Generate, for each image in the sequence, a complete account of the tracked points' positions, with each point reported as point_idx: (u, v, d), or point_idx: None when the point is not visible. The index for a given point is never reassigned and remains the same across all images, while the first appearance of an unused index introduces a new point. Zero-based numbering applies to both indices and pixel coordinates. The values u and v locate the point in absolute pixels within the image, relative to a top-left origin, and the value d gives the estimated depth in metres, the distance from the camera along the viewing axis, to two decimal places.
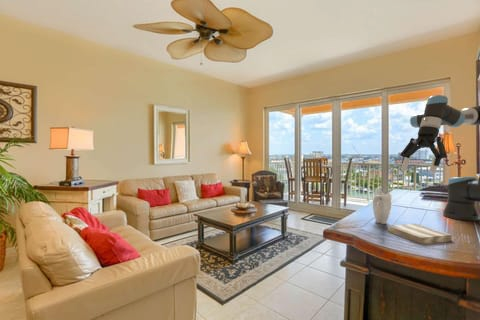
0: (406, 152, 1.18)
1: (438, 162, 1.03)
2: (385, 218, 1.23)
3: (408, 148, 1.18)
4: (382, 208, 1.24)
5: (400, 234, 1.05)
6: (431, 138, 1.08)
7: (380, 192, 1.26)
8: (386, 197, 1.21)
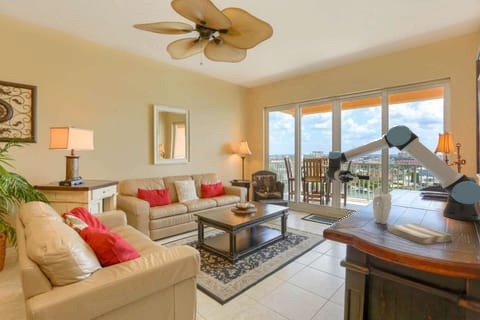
0: (366, 179, 1.44)
1: (349, 179, 1.37)
2: (385, 218, 1.23)
3: None
4: (382, 208, 1.24)
5: (400, 234, 1.05)
6: None
7: (380, 192, 1.26)
8: (386, 197, 1.21)
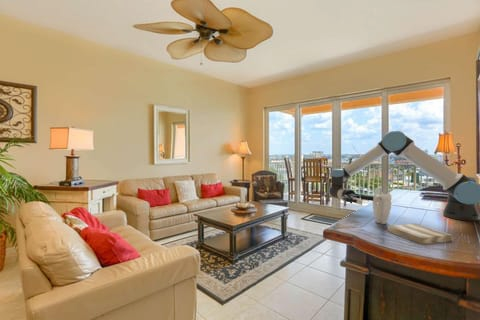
0: None
1: (353, 200, 1.33)
2: (385, 218, 1.23)
3: None
4: (382, 208, 1.24)
5: (400, 234, 1.05)
6: None
7: (380, 192, 1.26)
8: (386, 197, 1.21)
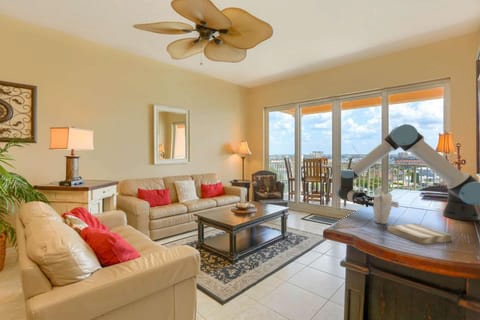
0: None
1: (369, 204, 1.24)
2: (385, 218, 1.23)
3: None
4: (382, 208, 1.24)
5: (400, 234, 1.05)
6: None
7: (380, 192, 1.26)
8: (386, 197, 1.21)
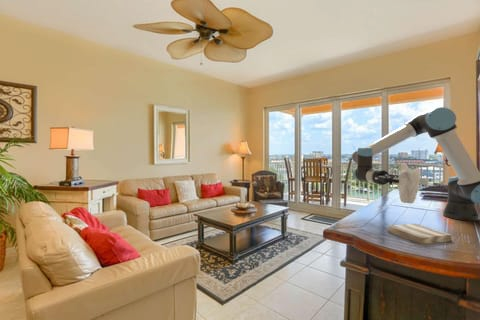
0: None
1: (394, 181, 1.08)
2: (412, 197, 1.07)
3: None
4: (409, 185, 1.08)
5: (400, 234, 1.05)
6: None
7: (406, 168, 1.10)
8: (414, 172, 1.06)
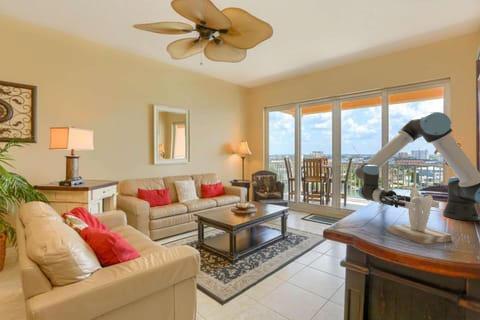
0: None
1: (400, 204, 1.05)
2: (423, 225, 1.04)
3: None
4: (420, 213, 1.04)
5: (400, 234, 1.05)
6: None
7: (417, 194, 1.06)
8: (426, 200, 1.02)
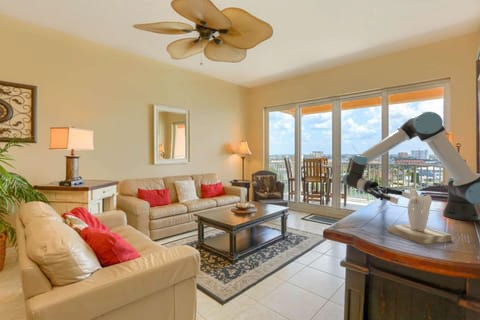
0: None
1: (385, 198, 1.17)
2: (423, 225, 1.04)
3: None
4: None
5: (400, 234, 1.05)
6: None
7: (416, 194, 1.07)
8: (425, 200, 1.02)
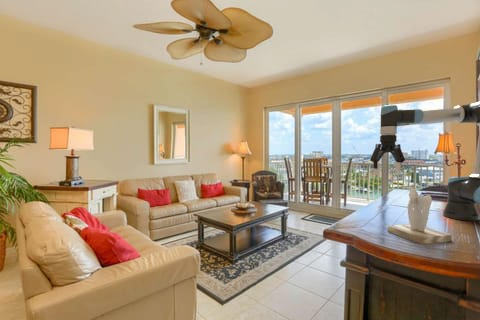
0: None
1: (374, 165, 1.27)
2: (423, 225, 1.04)
3: (397, 153, 1.31)
4: None
5: (400, 234, 1.05)
6: None
7: (416, 194, 1.07)
8: (425, 200, 1.02)
